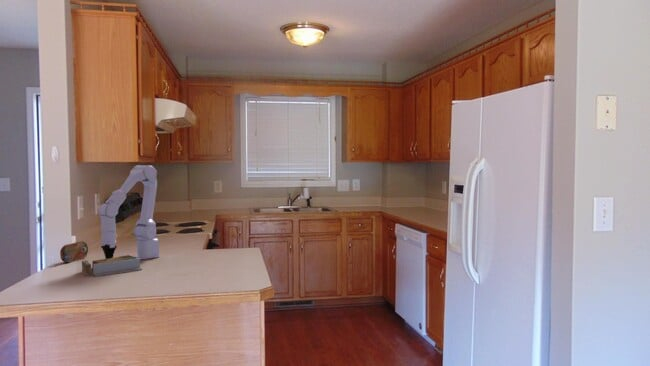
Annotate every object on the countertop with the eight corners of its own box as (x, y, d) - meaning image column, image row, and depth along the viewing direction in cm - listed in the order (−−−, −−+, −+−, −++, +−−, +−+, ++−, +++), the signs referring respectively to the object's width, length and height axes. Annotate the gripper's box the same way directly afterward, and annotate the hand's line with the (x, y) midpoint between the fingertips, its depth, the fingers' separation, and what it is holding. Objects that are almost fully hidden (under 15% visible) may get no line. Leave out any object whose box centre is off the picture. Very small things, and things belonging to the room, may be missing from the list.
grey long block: (139, 268, 195) (139, 258, 195) (141, 269, 192) (141, 259, 192) (93, 275, 184) (93, 264, 184) (95, 276, 181) (94, 265, 181)
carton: (92, 270, 194) (91, 260, 193) (128, 263, 206) (128, 254, 206) (100, 273, 188) (100, 263, 188) (137, 266, 200) (137, 256, 200)
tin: (65, 264, 203) (64, 245, 203) (59, 264, 204) (58, 245, 203) (88, 257, 218) (88, 239, 217) (83, 257, 218) (82, 239, 218)
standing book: (86, 271, 190) (86, 259, 190) (91, 275, 183) (90, 263, 183) (82, 271, 189) (81, 260, 189) (86, 276, 182) (85, 264, 182)
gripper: (95, 229, 203) (95, 259, 204) (102, 234, 191) (103, 265, 192) (112, 228, 207) (112, 257, 208) (119, 232, 196) (120, 263, 196)
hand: (109, 261), depth 200 cm, fingers closed
